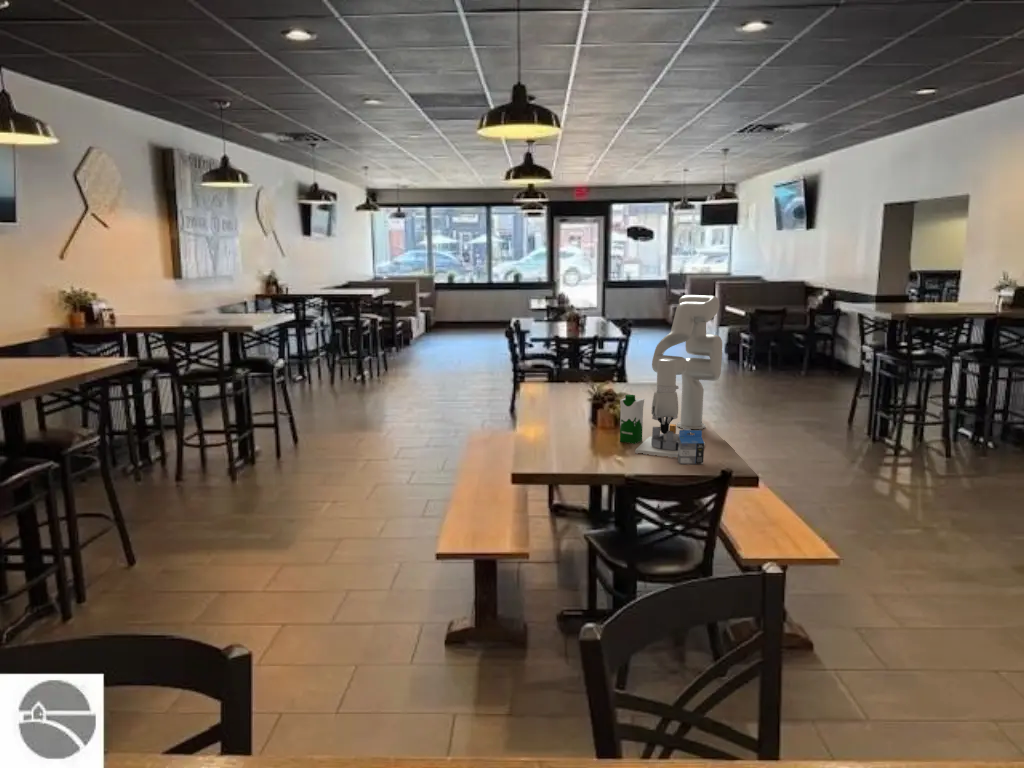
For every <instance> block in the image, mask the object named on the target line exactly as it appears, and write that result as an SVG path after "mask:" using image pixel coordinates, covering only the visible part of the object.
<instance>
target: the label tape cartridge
mask: <svg viewBox="0 0 1024 768" xmlns="http://www.w3.org/2000/svg"><path fill="white" fill-rule="evenodd" d="M687 433H690V435H687ZM678 434H679V445H678V458H677V463H679V465H704V455H705V446H704V442H705V441H704V439H703V429H699V430H683V429H680V430H679V433H678Z"/></svg>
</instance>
